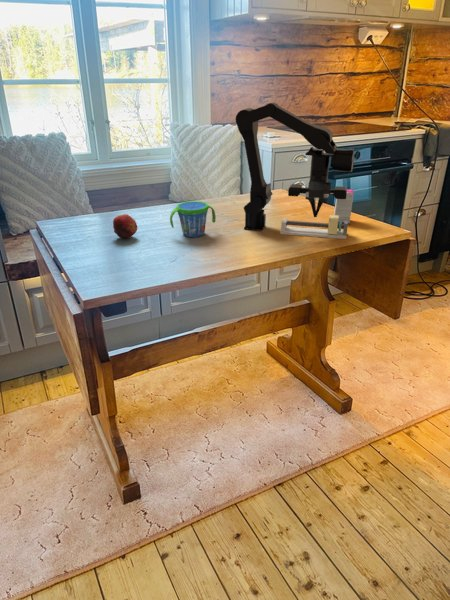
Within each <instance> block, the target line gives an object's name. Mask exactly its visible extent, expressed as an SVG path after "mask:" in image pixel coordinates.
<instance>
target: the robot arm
mask: <svg viewBox="0 0 450 600" xmlns="http://www.w3.org/2000/svg"><path fill="white" fill-rule="evenodd" d="M267 118H271V119H273V120H275V121H277V122H278V123H280V124H281V125H283V126H285V127H287V128H289V129H290V130H293V131H294V132H296V133H297V134H298V135H299V134H300V135H301V137H303V138H304V139H305V140H306V141H307V142H308V143H309V144H310V145H311V147H310V148H309V150H308V151H307V152H305V155H306V156H311V160H310V171H309V173H310V175H309V182H308V187H303V184H298V183H297V184H296V183H291V184H290V186H288V190H287V196H289V197H298V196H300V195H301V194H305V198H304V199H305V200H308V202H309V203H310V206H311V209H312V215H313V217H314V218H317V217H318V214H319V212H320V210H321V207H322V206H323V203H324V202H325V201H328V200H329V196H333V197H334V198H335V200H336V199H346V195H347V189H348V188H347V187H346V186H335V187H334V189H332V182H329V181H328V179H329V171H330V170H329V168H331V169H332V170H333V171H334V172H342V173H343V172H346V173H352V172H353V167H354V161H355V158H354V155H355V154H354V153H355V149H354V148H348V149H344V148H343V149H342V148H341V149H340V148H338V146H337V145H336V142H335V141H334V140H333V137H334V136H333V132H332V130H330V129H329V128H328V127H325V126H322V125H319V124H314V123H311V122H308V121H307V120H305V119H303V118H301V117H299V116H298V115H296V114H294V113H292V112H291V111H289V110H287V109H286V108H283V107H282V106H280V105H279V104H277V102H272V101H271V102H268V103H266V105H262V106H260V107H256V108H255V109H254V108H251V107H248V108H244V109H242V110H239V111H238V112H237V114H236V115H235V123H236V126H237V129H238V132H239V133H240V136H241V137H242V139H243V143H244V147H245V153H246V154H245V155H246V160H247V165H248V171H249V177H250V181H251V184H250V191H249V202H248V203H246V205H245V206H243V211H244V212H245V214H244V215H245V216H244V217H245V218H244V220H245V221H244V224H245V225H244V227H243V229H244V230H251V231H263V229H264V228H265V227H266V221H267V220H266V219H267V216H266V213H265V209H264V208H266V206H267V205H268V204H269V203H270V201H271V200H272V195H274V194H273V191H272V184H271V182H269V183H267V182H266V180H265V178H264V171H263V164H262V160H261V154H260V153H261V152H260V147H259V140H258V131H259V121H262V120H263V119H267ZM330 158H331V159H330ZM316 199H318V202H316ZM316 203H317V204H316Z"/></svg>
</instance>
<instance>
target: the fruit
mask: <svg viewBox="0 0 450 600" xmlns="http://www.w3.org/2000/svg"><path fill="white" fill-rule="evenodd" d="M112 222H113V223H112V225H113V232H114V233H115V234H116V235H117V236H118V238H120V239H123V240H126V239H130V238H131V237H133V236H134V235H135V234H136V233H137V231H138V225H137V222H136V220H135V218H133V217H132V216H131V215H129V214H126V213H124V214H119V215H117V216H115V217H114V218H113V221H112Z"/></svg>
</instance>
